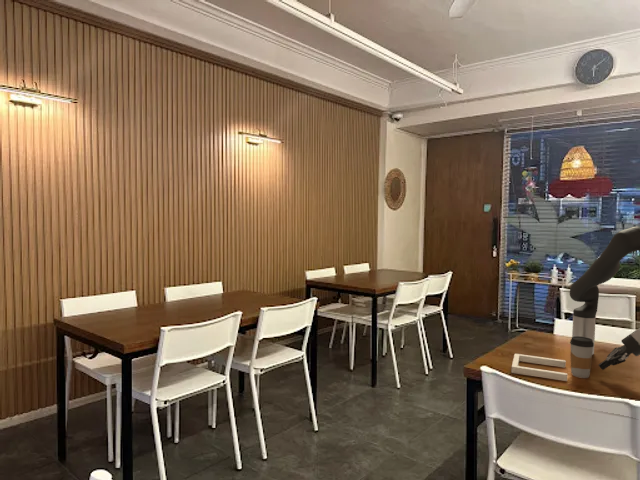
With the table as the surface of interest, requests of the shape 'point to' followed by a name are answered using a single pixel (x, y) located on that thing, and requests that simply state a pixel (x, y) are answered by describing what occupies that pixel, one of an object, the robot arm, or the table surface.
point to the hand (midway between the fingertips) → (600, 367)
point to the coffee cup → (581, 356)
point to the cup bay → (538, 372)
